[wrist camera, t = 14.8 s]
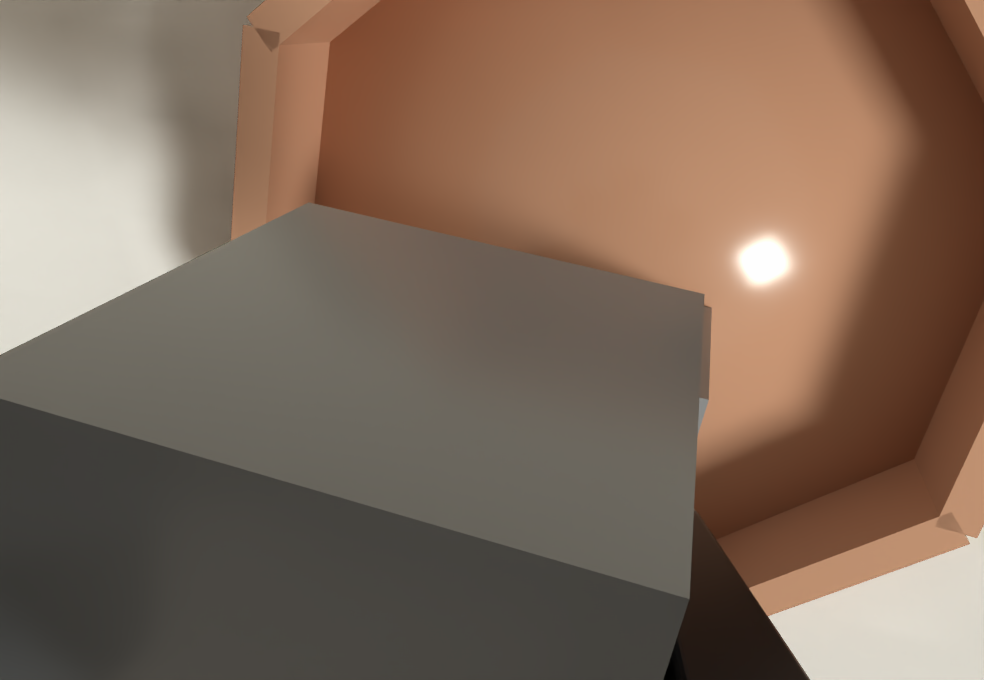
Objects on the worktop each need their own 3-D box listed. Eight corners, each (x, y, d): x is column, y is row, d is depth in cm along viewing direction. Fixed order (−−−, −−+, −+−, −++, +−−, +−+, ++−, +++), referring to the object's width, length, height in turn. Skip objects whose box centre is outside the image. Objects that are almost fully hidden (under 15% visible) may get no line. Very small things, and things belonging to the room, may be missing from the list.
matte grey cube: (612, 622, 11) (534, 1075, 6) (286, 524, 11) (3, 865, 7) (704, 294, 9) (689, 599, 4) (308, 202, 10) (-56, 381, 5)
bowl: (866, 629, 21) (887, 718, 19) (273, 450, 24) (215, 505, 21) (1191, -88, 15) (1297, -113, 12) (331, -225, 17) (259, -270, 15)
